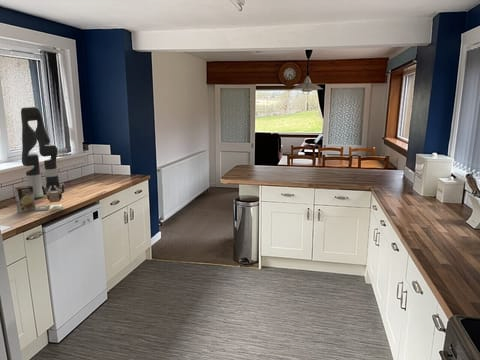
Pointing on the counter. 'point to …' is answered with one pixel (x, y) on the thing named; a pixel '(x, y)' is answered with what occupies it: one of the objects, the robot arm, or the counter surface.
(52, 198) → the block
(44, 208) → the pad
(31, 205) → the coffee box
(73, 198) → the counter surface
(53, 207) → the pad
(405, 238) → the counter surface
